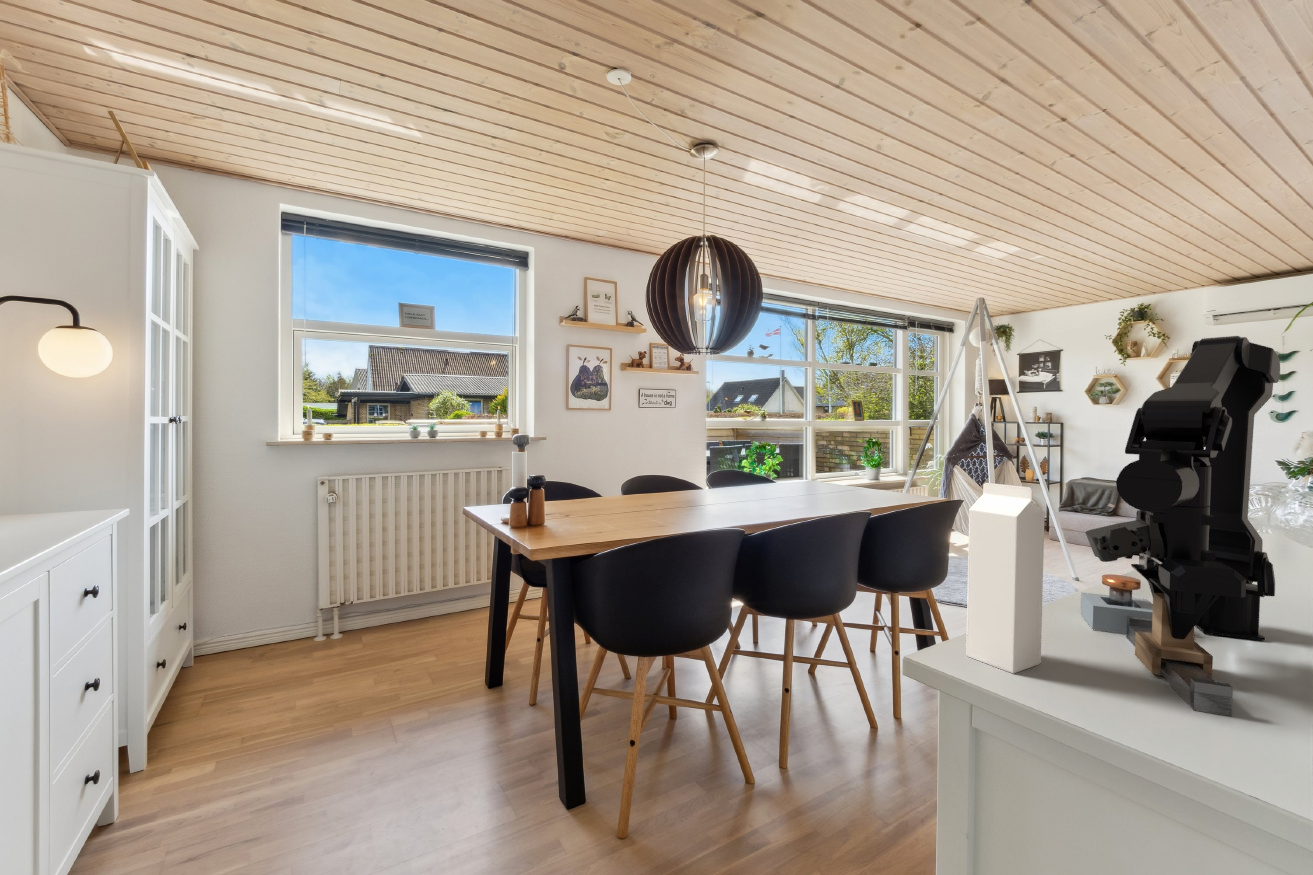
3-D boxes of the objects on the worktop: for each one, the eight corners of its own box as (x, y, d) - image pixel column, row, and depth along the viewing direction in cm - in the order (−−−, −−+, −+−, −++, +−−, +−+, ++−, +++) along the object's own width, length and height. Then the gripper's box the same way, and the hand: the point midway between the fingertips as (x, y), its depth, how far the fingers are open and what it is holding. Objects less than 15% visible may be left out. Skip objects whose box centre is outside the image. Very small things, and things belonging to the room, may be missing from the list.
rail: (1153, 640, 80) (1154, 618, 79) (1231, 716, 59) (1232, 687, 59) (1126, 637, 81) (1127, 615, 81) (1193, 710, 61) (1194, 681, 61)
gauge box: (1145, 622, 87) (1146, 599, 86) (1163, 638, 80) (1164, 613, 80) (1080, 614, 90) (1081, 592, 90) (1092, 629, 84) (1093, 605, 83)
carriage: (1189, 662, 72) (1192, 593, 71) (1211, 682, 66) (1214, 608, 66) (1134, 654, 74) (1136, 587, 74) (1151, 673, 68) (1154, 601, 68)
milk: (1013, 674, 69) (1017, 489, 68) (964, 656, 74) (968, 483, 73) (1041, 663, 72) (1046, 486, 71) (993, 646, 77) (996, 480, 76)
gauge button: (1134, 606, 86) (1135, 576, 86) (1144, 615, 82) (1145, 584, 82) (1097, 602, 88) (1098, 572, 88) (1105, 611, 84) (1106, 580, 84)
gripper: (1076, 490, 81) (1073, 601, 82) (1116, 510, 64) (1111, 650, 65) (1179, 495, 77) (1175, 613, 77) (1251, 518, 60) (1245, 669, 60)
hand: (1172, 633), depth 70 cm, fingers closed on carriage, 3 cm apart
